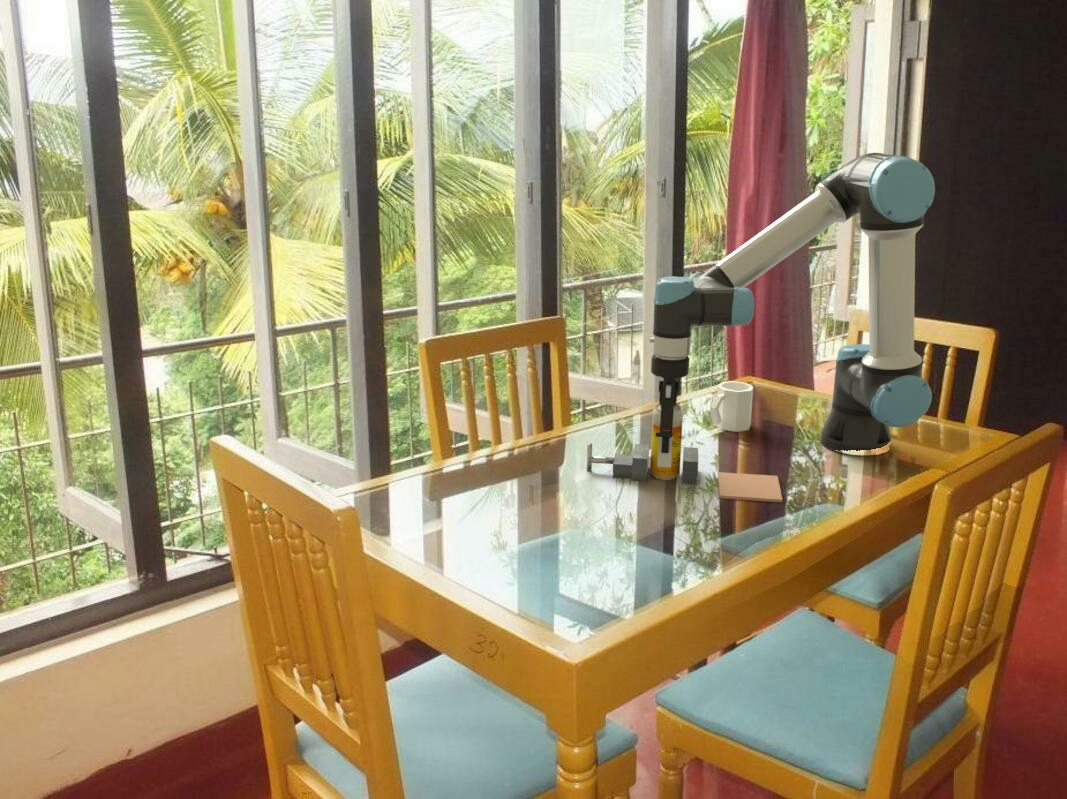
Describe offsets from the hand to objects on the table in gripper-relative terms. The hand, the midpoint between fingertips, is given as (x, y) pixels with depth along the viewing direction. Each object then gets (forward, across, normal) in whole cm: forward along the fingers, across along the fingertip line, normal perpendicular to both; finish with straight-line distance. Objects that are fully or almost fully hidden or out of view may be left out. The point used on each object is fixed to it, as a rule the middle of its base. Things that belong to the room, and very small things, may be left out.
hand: (665, 454), depth 195 cm
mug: (+5, -32, +14) cm, 35 cm away
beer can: (+5, 0, 0) cm, 5 cm away
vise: (+5, 0, -5) cm, 7 cm away
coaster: (+5, +4, +17) cm, 18 cm away
